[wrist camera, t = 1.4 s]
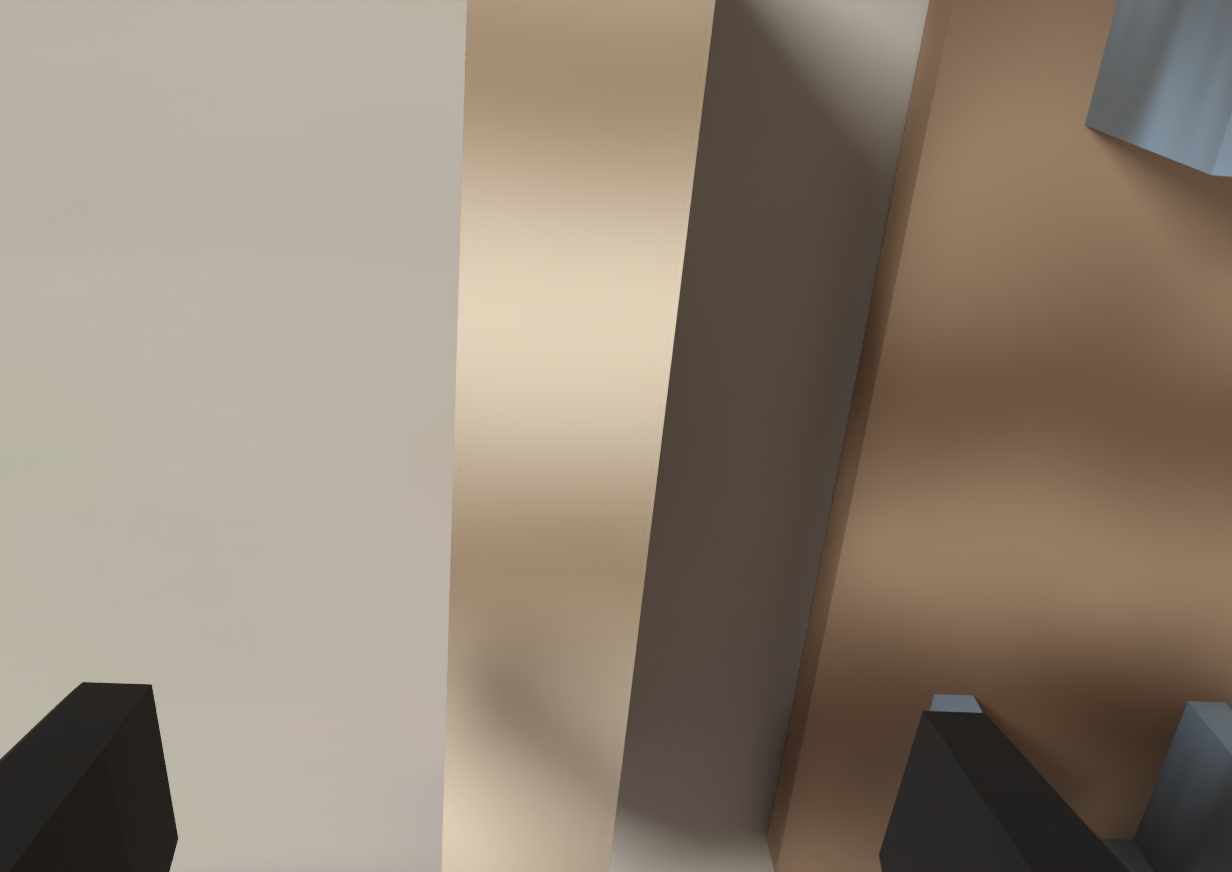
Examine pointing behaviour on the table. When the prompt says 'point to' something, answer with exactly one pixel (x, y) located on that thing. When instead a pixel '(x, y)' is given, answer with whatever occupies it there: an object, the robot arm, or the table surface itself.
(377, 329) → the table surface
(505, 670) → the slat
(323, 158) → the table surface
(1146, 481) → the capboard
